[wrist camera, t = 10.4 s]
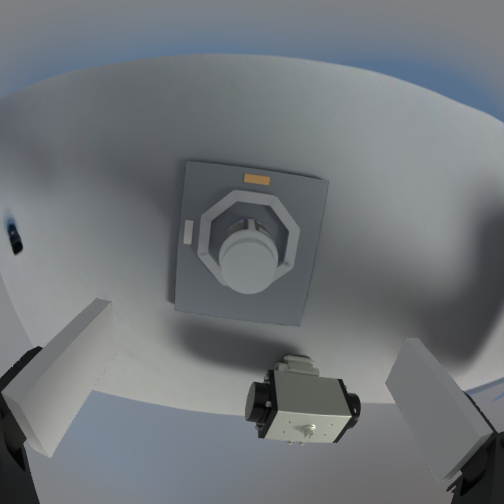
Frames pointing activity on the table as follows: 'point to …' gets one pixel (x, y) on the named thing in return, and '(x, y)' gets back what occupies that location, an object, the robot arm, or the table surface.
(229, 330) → the table surface
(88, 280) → the table surface
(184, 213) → the slate board
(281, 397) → the pneumatic valve
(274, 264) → the pill bottle
